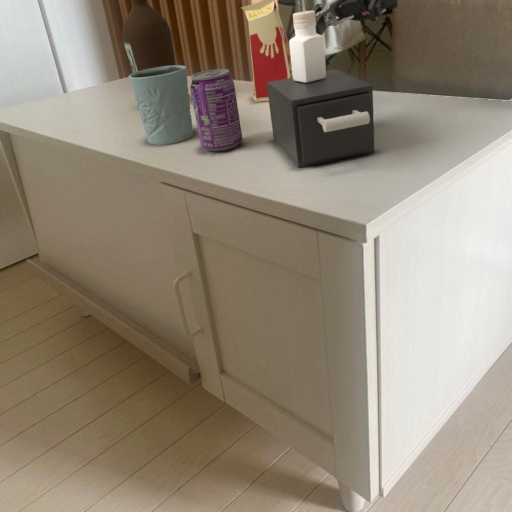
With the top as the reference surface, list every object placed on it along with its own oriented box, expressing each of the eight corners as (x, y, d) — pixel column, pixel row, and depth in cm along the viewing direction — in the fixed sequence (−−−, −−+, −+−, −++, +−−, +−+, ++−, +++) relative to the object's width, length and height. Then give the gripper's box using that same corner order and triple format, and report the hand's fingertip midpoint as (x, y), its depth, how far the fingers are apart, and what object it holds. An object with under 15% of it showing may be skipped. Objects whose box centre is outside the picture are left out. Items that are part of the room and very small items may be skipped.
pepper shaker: (306, 84, 80) (300, 15, 75) (291, 81, 83) (284, 14, 78) (328, 78, 81) (323, 10, 77) (312, 75, 84) (307, 10, 80)
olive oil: (182, 95, 131) (159, -19, 119) (186, 104, 122) (161, -18, 110) (139, 103, 130) (111, -11, 118) (139, 113, 121) (109, -10, 109)
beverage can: (214, 139, 95) (202, 69, 89) (250, 139, 92) (239, 67, 86) (193, 153, 90) (179, 79, 84) (230, 154, 87) (218, 77, 81)
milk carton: (296, 88, 121) (287, -10, 111) (291, 99, 113) (281, -6, 104) (257, 92, 123) (244, -4, 113) (249, 103, 115) (235, 0, 106)
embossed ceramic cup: (135, 147, 98) (118, 79, 92) (158, 130, 106) (143, 67, 100) (186, 144, 95) (172, 74, 89) (206, 127, 103) (194, 62, 97)
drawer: (386, 158, 73) (385, 100, 69) (313, 173, 72) (308, 115, 68) (340, 126, 89) (337, 77, 85) (280, 138, 87) (274, 90, 84)
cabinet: (374, 152, 78) (372, 85, 74) (298, 168, 77) (291, 100, 72) (339, 127, 91) (336, 69, 87) (273, 141, 90) (266, 82, 85)
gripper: (317, -21, 92) (292, 10, 81) (400, -49, 86) (386, -19, 75) (329, 23, 97) (307, 58, 85) (410, -1, 90) (397, 34, 79)
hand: (343, 22), depth 80 cm, fingers open, 8 cm apart
